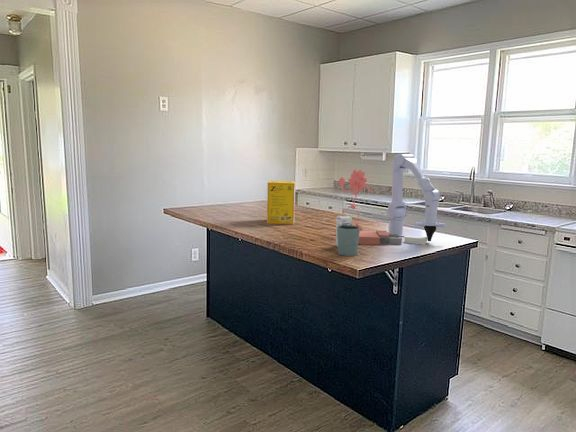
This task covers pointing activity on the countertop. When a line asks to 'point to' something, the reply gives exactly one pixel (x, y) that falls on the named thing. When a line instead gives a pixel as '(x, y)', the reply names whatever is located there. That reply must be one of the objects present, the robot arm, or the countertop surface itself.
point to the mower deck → (378, 237)
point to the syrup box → (342, 223)
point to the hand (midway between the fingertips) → (429, 240)
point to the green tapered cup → (348, 239)
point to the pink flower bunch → (355, 186)
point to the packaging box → (280, 202)
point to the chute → (415, 239)
